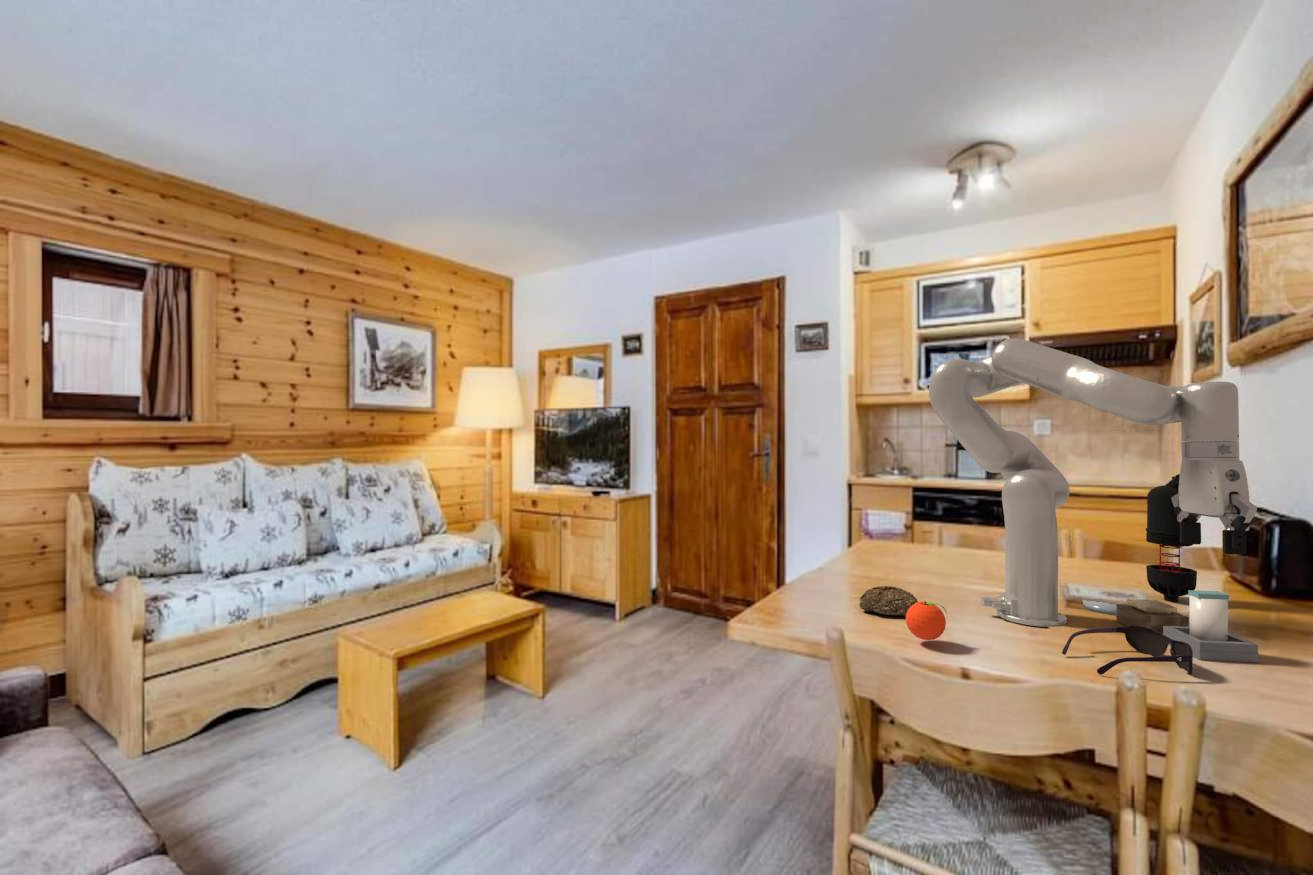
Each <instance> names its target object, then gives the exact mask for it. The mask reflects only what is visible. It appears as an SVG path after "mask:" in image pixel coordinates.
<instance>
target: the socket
mask: <svg viewBox="0 0 1313 875" xmlns="http://www.w3.org/2000/svg"><path fill="white" fill-rule="evenodd" d="M1163 635H1165V636H1167V637H1168V638H1170V639H1173V640H1177V641H1182V642H1186V643H1188V644H1189V645H1190V646H1191V648H1192V652H1193V658H1194V659H1197V660H1199V661H1213V662H1214V661H1216V662H1238V663H1239V662H1240V663H1260V653H1259V645H1258V643H1255V642H1253V641H1250V640H1247V639H1245V638H1242V637H1240V636H1237V635H1235V634H1232V633H1229V632H1228V641H1204V640H1200V639H1198V638H1195V637H1193V636H1191V635H1189V627H1180V626H1163ZM1168 646H1170V647H1171V644H1168Z"/></svg>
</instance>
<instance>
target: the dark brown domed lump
mask: <svg viewBox="0 0 1313 875" xmlns="http://www.w3.org/2000/svg"><path fill="white" fill-rule="evenodd" d="M917 602H919V601H918V598H916V597H915V596H914V594H913V593H912V592H909V591H907V590H906V589H903V588H900V587H897V586H893V585H881V586H880V585H879V586H874V587H871V588H870V589H867V590H866V591H864V592H863V594H861V596H860V598H859V608H860V609H861V610H864V611H866V612H874V613H876V614H880V615H888V616H903V617H906V613H907V611H908V609H909V608H910V607H911V606H912V605H914V604H915V603H917Z"/></svg>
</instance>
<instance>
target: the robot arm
mask: <svg viewBox="0 0 1313 875" xmlns="http://www.w3.org/2000/svg"><path fill="white" fill-rule="evenodd" d="M1020 384H1025V385H1027V386H1030V387H1033V388H1035V389H1036V388H1037V389H1039V390H1042V391H1044V392H1047V393H1049V394H1052V395H1055V396H1058V397H1060V398H1064V399H1066V400H1068V401H1074V402H1077V403H1080V404H1083V405H1086V406H1088V407H1091V408H1094V409H1097V410H1100V411H1102V412H1105V413H1108V414H1110V415H1114V416H1115V417H1119V418H1122V419H1124V420H1127V421H1130V422H1132V423H1136V424H1141V425H1150V426H1160V425H1161V426H1162V425H1167V424H1174V423H1175V424H1176V423H1180V438H1181V439H1180V440H1181V443H1180V444H1181V447H1180V448H1181V450H1180V451H1181V464H1180V469H1179V474H1180V476H1179V493H1178V494H1176V495H1174V496H1173V497H1172V498H1171V499H1172V502H1173V505H1174V507H1175V508H1174V511H1175V513H1176V514H1177V520H1178V522H1180V543H1181V544H1193V545H1201V544H1202V525H1201V524H1202V522H1198V521H1199V520H1200V518H1201V517H1203V516H1204V517H1210V518H1217V519H1219V520H1220V521H1221V523H1222V525H1223V526H1224V528H1225V529H1222V531H1221V533H1222V537H1221V538H1222V541H1221V542H1222V553H1224V554H1226V555H1246V554H1247V552H1248V551H1247V532H1248V531H1249V530H1250V526H1251V524H1252V523H1253V522H1254V517H1255V515H1256V513H1257V511H1258V508H1257V506H1256V505H1255V504H1254V503H1252V502H1251V500H1250V493H1249V492H1250V491H1249V483H1248V477H1247V472H1246V468H1245V466H1244V463H1243V460H1240V427H1239V426H1240V420H1239V418H1240V416H1239V413H1240V412H1239V411H1240V410H1239V407H1240V406H1239V390H1238V387H1237V385H1236V384H1235V383H1234V382H1230V381H1204V382H1193V383H1189V384H1185V385H1184V386H1178V385H1177V386H1175V385H1174V386H1173V385H1172V386H1171V385H1163V384H1160V383H1156V382H1154V381H1149V380H1146V379H1142V378H1139V377H1136V376H1133V375H1129V374H1126V373H1123V372H1120V371H1117V370H1114V369H1110V368H1107V367H1105V366H1103V365H1099V364H1096V363H1095V362H1094V361H1092V360H1090V359H1088V358H1084V357H1082V356H1079V355H1074V354H1072V353H1068V352H1065V351H1062V350H1059V349H1055V348H1052V347H1048V346H1046V345H1043V344H1040V343H1037V342H1034V341H1033V342H1032V341H1030V340H1027V339H1022V338H1007V339H1005V340H1003V341H1001V342H1000V343H999V344H998V345H996V346H995V348H994V349H993V351H992V353H991V356H989V357H986V358H982V359H980V360H976V361H973V360H968V359H964V358H952V359H949V360H946V361H944V362H942V363H941V364H939V365H938V366H937V367H936V369H935V370H934V372H933V373H932V375H931V377H930V381H929V385H928V397H929V402H930V405H931V407H932V410H934V413H935V414H936V416H937V417H938V419H939V420H940V421H941V422H942V423H943V425H944V426H945V427H946V428H947V429H948V430H949V431H950V432H951V433H952V434H953V436H954V437H955V439H956V440H957V441H958V443H959V444H960V445H961V446H962V447H963V449H964V450H966V452H967V453H968V455H969V456H971V457H972V459H973V460H974V462H976V464H977V465H978V466H979V468H982V469H983V470H984V471H986V472H988V473H993V474H1001V475H1002V476H1003V477H1004V478H1005V479H1006V481H1005V482H1004V484H1003V487H1002V491H1001V502H1002V503H1001V504H1002V509H1003V516H1004V517H1003V518H1004V546H1005V547H1004V556H1005V557H1004V561H1005V562H1004V570H1005V571H1004V575H1005V576H1004V592H999V595H998V596H996V597H987V596H981V597H980V604H981V606H982V607H992V609H995V610H996V615H998V616H999V617H1000V618H1001V619H1004V620H1006V621H1008V622H1012V623H1017V624H1019V625H1026V626H1032V627H1042V628H1048V627H1058V626H1060V627H1061V626H1064V625H1067V623H1068V617H1067V616H1066V615H1065V614H1063V613H1061V612H1060V611H1059V530H1058V521H1057V512H1056V510H1057V509H1058V508H1061V507H1062V506H1063V505H1064V504H1065V503H1066V502H1067V501H1068V499H1069V496H1070V490H1071V489H1070V484H1069V482H1068V480H1067V478H1066V477H1065V476H1064V475H1063V473H1062V472H1061V471H1060V470H1059V469H1058V468H1057V467H1056V466H1055V465H1054V464H1053V463H1052V461H1051V460H1050V459H1048V457H1047V456H1046V455H1045V454H1044V453H1043V451H1042V450H1040V449H1039V448H1038V447H1037V446H1036V444H1035V443H1033V442H1032V441H1031V440H1030V438H1028V437H1026V436H1025V435H1023V434H1022V433H1020V432H1017V431H1012V430H1006V429H1004V428H1003V427H1001V425H1000V424H999V423H998V422H997V421H996V420H995V419H994V418H993V417H992V416H991V415H990V413H988V412H987V410H985V408H984V407H982V406H981V405H980V404H979V403H978V402H976V400H975V399H976V398H980V397H981V398H982V397H984V396H988V395H991V394H994V393H997V392H1000V391H1002V390H1006V389H1008V388H1011V387H1014V386H1018V385H1020ZM974 398H975V399H974ZM1231 520H1232V521H1231Z"/></svg>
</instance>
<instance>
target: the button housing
mask: <svg viewBox="0 0 1313 875" xmlns="http://www.w3.org/2000/svg"><path fill="white" fill-rule="evenodd" d="M1115 616H1116V618H1115V619H1116V622H1118V623H1121V625H1124V626H1125V627H1127V626H1131V625H1136V626H1144V627H1148V628H1151V629H1153V630H1156V631H1158V632H1159V633H1161V634H1163V626H1180V627H1189V616H1186V615H1184V614H1181V613H1179V612H1178V611H1177V612H1171V615H1170V614H1146V613H1143V612H1141V611H1139V610H1137V609H1134V608H1132V605H1130V604H1116V615H1115Z"/></svg>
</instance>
